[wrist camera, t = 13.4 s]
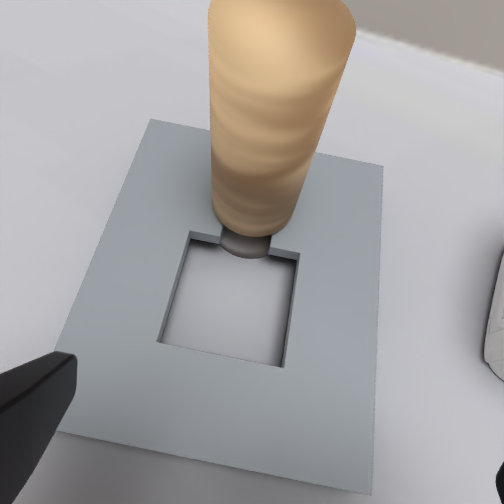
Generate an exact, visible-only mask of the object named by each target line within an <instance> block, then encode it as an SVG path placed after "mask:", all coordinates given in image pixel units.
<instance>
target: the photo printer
mask: <svg viewBox="0 0 504 504" xmlns="http://www.w3.org/2000/svg"><path fill="white" fill-rule="evenodd" d="M484 357H485V361H486V362H487V363H489V366H490V368H491V369H492V370H493V371H494V373H495V374H496V375H497V376H498V377H500V378H501V379H502V380H504V254H503V257H502V261H501V265H500V269H499V273H498V278H497V282H496V287H495V291H494V296H493V301H492V306H491V311H490V316H489V321H488V326H487V332H486V339H485V348H484Z"/></svg>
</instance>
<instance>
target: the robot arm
mask: <svg viewBox="0 0 504 504" xmlns="http://www.w3.org/2000/svg"><path fill="white" fill-rule="evenodd" d="M77 365H78V360H77V357H76V355H74V354H71V353H66V352H61V351H54V352H52V353H49V354H47V355H44V356H42V357H40V358H37V359H35V360H32V361H30V362H28V363H25V364H23V365H20V366H18V367H16V368H13V369H11V370H8V371H6V372H4V373H1V374H0V504H12V503H13V501H14V500H15V498H16V497H17V495H18V494H19V492H20V491H21V489H22V488H23V487H24V485H25V483H26V482H27V480H28V479H29V477H30V476H31V474H32V473H33V471H34V469H35V467H36V466H37V464H38V462H39V460H40V459H41V457H42V455H43V453H44V451H45V450H46V448H47V446H48V444H49V442H50V440H51V439H52V437H53V435H54V433H55V431H56V429H57V428H58V426H59V424H60V422H61V420H62V418H63V417H64V415H65V413H66V411H67V409H68V407H69V406H70V404H71V402H72V400H73V398H74V396H75V392H76V387H77ZM496 488H497V491H498V494H499V497H500V500H501V503H502V504H504V462H503V464H502V465H501V467H500V469H499V471H498V473H497V475H496Z"/></svg>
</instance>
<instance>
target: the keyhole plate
mask: <svg viewBox="0 0 504 504" xmlns="http://www.w3.org/2000/svg"><path fill="white" fill-rule="evenodd" d="M382 188H383V166H381V165H376V164H371V163H366V162H361V161H356V160H351V159H346V158H341V157H336V156H331V155H327V154H322V153H317V152H315V153H314V156H313V159H312V162H311V164H310V167H309V170H308V173H307V176H306V179H305V181H304V184H303V187H302V190H301V193H300V196H299V198H298V201H297V204H296V207H295V210H294V212H293V215H292V217H291V219H290V221H289V222H288V223H287V224H286V225H285V226H284V227H283V228H282V229H281V230H279V231H277V232H275V233H273V234H272V236H271V241H270V246H269V252H268V254H270V255H275V256H280V257H285V258H290V259H294V260H297V264H296V271H295V278H294V285H293V292H292V299H291V306H290V313H289V319H288V326H287V333H286V340H285V347H284V354H283V361H282V368H280V367H275V366H270V365H266V364H261V363H256V362H251V361H246V360H241V359H236V358H232V357H227V356H222V355H217V354H212V353H207V352H203V351H198V350H193V349H188V348H183V347H178V346H173V345H169V344H164V343H160V341H161V337H162V334H163V331H164V327H165V324H166V320H167V317H168V314H169V310H170V307H171V303H172V300H173V297H174V293H175V290H176V286H177V283H178V280H179V276H180V273H181V269H182V266H183V263H184V259H185V256H186V252H187V249H188V246H189V242H190V239H191V238H192V239H197V240H202V241H207V242H211V243H216V244H220V241H221V237H222V233H223V229H224V225H223V224H222V223H221V221H220V220H219V219H218V217H217V216H216V214H215V212H214V209H213V205H212V178H211V132H210V131H209V130H204V129H199V128H194V127H189V126H184V125H179V124H174V123H169V122H164V121H160V120H155V119H150V121H149V124H148V126H147V128H146V131H145V133H144V136H143V138H142V140H141V143H140V145H139V148H138V150H137V152H136V155H135V157H134V160H133V162H132V164H131V167H130V169H129V172H128V174H127V176H126V179H125V181H124V184H123V186H122V188H121V191H120V193H119V196H118V198H117V200H116V203H115V205H114V208H113V210H112V212H111V215H110V217H109V220H108V222H107V224H106V227H105V229H104V232H103V234H102V236H101V239H100V241H99V244H98V246H97V248H96V251H95V253H94V256H93V258H92V260H91V263H90V265H89V268H88V270H87V273H86V275H85V277H84V280H83V282H82V285H81V287H80V289H79V292H78V294H77V297H76V299H75V301H74V304H73V306H72V309H71V311H70V313H69V316H68V318H67V321H66V323H65V325H64V328H63V330H62V333H61V335H60V337H59V340H58V342H57V345H56V347H55V349H54V351H61V352H66V353H71V354H74V355H76V357H77V360H78V365H77V387H76V392H75V396H74V398H73V400H72V402H71V404H70V406H69V407H68V409H67V411H66V413H65V415H64V417H63V418H62V420H61V422H60V424H59V426H58V428H57V429H56V431H61V432H66V433H71V434H76V435H80V436H85V437H90V438H95V439H100V440H104V441H109V442H114V443H119V444H124V445H129V446H133V447H138V448H143V449H148V450H153V451H158V452H162V453H167V454H172V455H177V456H182V457H186V458H191V459H196V460H201V461H206V462H211V463H215V464H220V465H225V466H230V467H235V468H240V469H244V470H249V471H254V472H259V473H264V474H269V475H273V476H278V477H283V478H288V479H293V480H297V481H302V482H307V483H312V484H317V485H322V486H326V487H331V488H336V489H341V490H346V491H351V492H355V493H360V494H365V495H370V496H371V494H372V466H373V438H374V410H375V382H376V355H377V327H378V299H379V271H380V244H381V216H382Z"/></svg>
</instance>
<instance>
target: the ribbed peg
mask: <svg viewBox="0 0 504 504" xmlns="http://www.w3.org/2000/svg"><path fill="white" fill-rule="evenodd" d="M355 36H356V26H355V21H354V19H353V16H352V14H351V13H350V11H349V9H348V8H347V7H346V6H345V4H344V3H343V2H342V1H341V0H212V1H211V3H210V6H209V9H208V39H209V86H210V132H211V178H212V205H213V209H214V212H215V214H216V216H217V217H218V219H219V220H220V221H221V223H222V224H223V225H224V229H223V233H222V237H221V241H220V245H221V246H222V247H223V248H224V249H225V250H227V251H228V252H229V253H231V254H233V255H236V256H238V257H242V258H260V257H264V256H267V255H269V254H268V252H269V246H270V241H271V236H272V234H273V233H275V232H277V231H279V230H281V229H282V228H283V227H284V226H285V225H286V224H287V223H288V222H289V221H290V219H291V217H292V215H293V212H294V210H295V207H296V204H297V201H298V198H299V196H300V193H301V190H302V187H303V184H304V181H305V179H306V176H307V173H308V170H309V167H310V164H311V162H312V159H313V156H314V153H315V150H316V148H317V145H318V142H319V139H320V136H321V133H322V131H323V128H324V125H325V122H326V119H327V116H328V114H329V111H330V108H331V105H332V102H333V100H334V97H335V94H336V91H337V88H338V85H339V83H340V80H341V77H342V74H343V71H344V68H345V66H346V63H347V60H348V57H349V54H350V52H351V49H352V46H353V43H354V40H355Z"/></svg>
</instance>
